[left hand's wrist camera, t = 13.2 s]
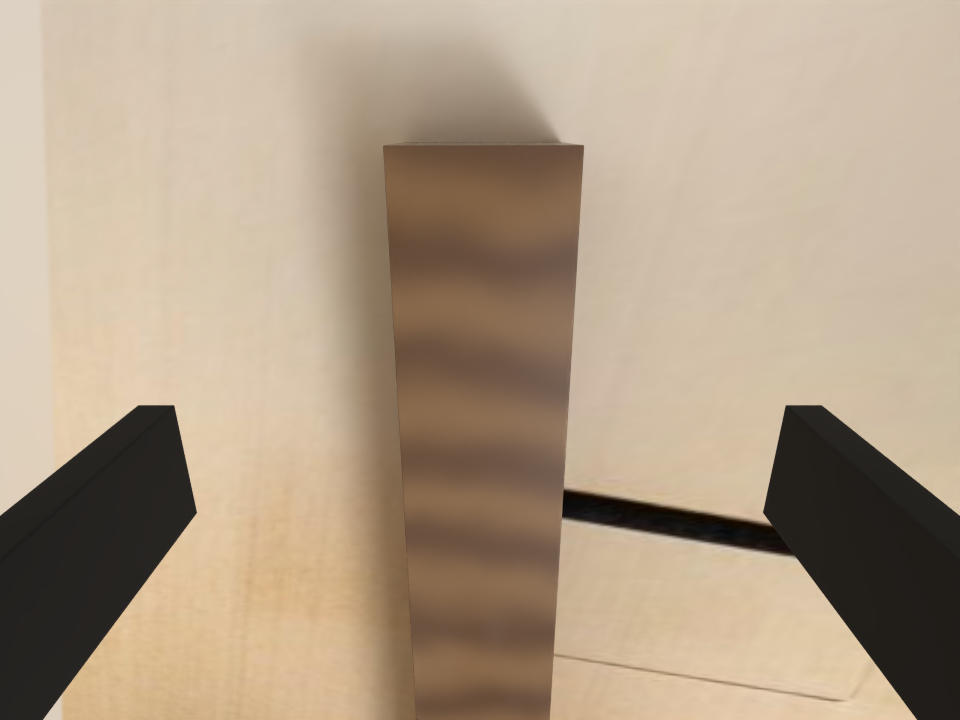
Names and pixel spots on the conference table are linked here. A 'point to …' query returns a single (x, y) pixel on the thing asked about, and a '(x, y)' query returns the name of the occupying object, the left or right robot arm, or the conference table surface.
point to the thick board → (483, 412)
